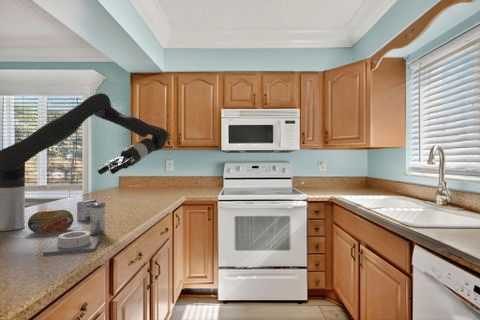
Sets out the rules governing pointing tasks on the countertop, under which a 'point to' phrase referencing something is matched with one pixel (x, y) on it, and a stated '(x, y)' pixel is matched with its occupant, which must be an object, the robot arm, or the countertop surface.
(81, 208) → the medicine box
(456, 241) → the countertop surface
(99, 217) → the silver metal canister
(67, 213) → the tin
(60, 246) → the collar
